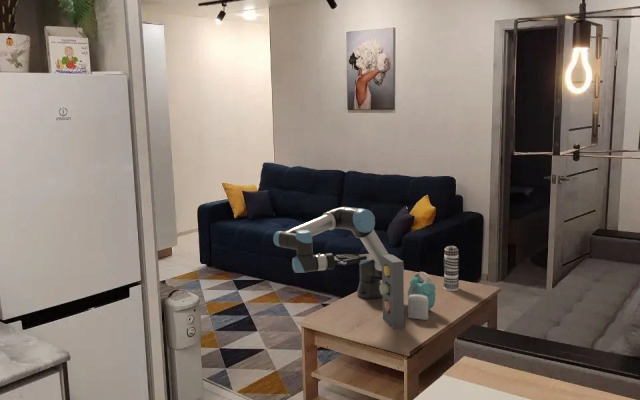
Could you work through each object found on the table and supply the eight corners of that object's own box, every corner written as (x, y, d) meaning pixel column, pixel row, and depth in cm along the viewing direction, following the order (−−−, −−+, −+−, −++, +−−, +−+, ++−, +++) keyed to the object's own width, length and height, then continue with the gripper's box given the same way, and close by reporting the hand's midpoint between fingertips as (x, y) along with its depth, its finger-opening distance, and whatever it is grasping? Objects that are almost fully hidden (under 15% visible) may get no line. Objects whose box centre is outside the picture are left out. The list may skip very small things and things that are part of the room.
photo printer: (429, 317, 304) (429, 294, 302) (427, 320, 300) (427, 296, 298) (409, 315, 308) (408, 292, 306) (407, 318, 304) (406, 295, 302)
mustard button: (391, 273, 297) (391, 264, 296) (395, 276, 292) (395, 266, 291) (384, 274, 296) (383, 264, 295) (387, 277, 291) (387, 267, 290)
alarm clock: (405, 306, 322) (404, 270, 319) (420, 303, 326) (420, 267, 322) (423, 316, 306) (422, 278, 303) (438, 313, 310) (438, 275, 307)
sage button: (387, 291, 298) (386, 282, 297) (390, 294, 293) (390, 285, 292) (379, 292, 297) (379, 283, 296) (383, 295, 292) (383, 285, 291)
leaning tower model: (462, 288, 347) (463, 246, 343) (451, 292, 342) (451, 249, 338) (451, 285, 355) (451, 244, 351) (440, 288, 350) (439, 246, 346)
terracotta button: (392, 308, 300) (391, 299, 299) (395, 311, 295) (395, 302, 294) (384, 309, 299) (384, 299, 298) (388, 312, 294) (388, 303, 293)
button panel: (393, 317, 306) (392, 254, 300) (404, 327, 292) (403, 261, 287) (382, 318, 304) (381, 255, 299) (393, 328, 291) (392, 262, 286)
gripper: (328, 257, 276) (376, 252, 283) (321, 250, 289) (367, 245, 295) (329, 273, 278) (377, 267, 284) (321, 265, 290) (367, 260, 296)
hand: (372, 256), depth 289 cm, fingers closed
